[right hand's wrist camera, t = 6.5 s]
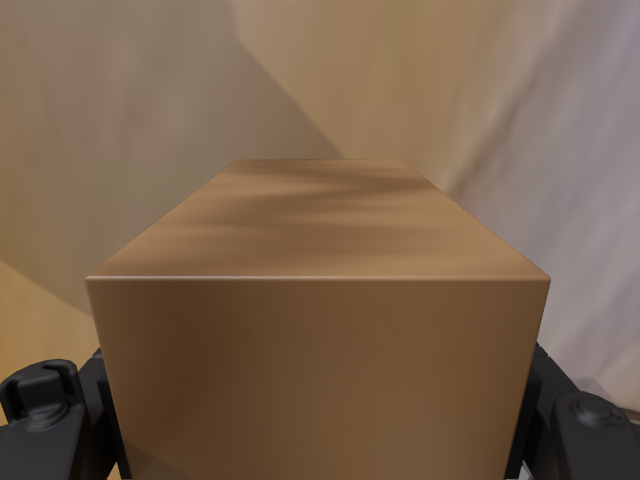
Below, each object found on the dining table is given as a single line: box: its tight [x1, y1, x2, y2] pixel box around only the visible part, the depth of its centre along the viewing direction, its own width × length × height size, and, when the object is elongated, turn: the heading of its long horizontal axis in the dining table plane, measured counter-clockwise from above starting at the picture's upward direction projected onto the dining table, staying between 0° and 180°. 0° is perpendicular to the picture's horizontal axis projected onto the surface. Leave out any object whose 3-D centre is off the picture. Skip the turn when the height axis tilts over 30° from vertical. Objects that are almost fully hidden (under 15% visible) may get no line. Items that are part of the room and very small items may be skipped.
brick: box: [85, 159, 551, 480], centre depth 13 cm, size 7×8×12 cm
